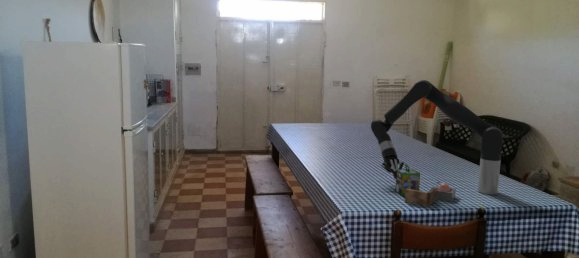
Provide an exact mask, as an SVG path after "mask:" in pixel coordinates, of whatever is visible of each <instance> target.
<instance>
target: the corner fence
mask: <svg viewBox="0 0 579 258" xmlns="http://www.w3.org/2000/svg"><path fill="white" fill-rule="evenodd" d="M435 195H436V188H435V187H432V188H430V190H428V191H422V190H419V191H417V190H411V189H406V191H405V196H404V203H409V204H412V205H413V204H414V205H421V206H425V207H430V206H431V205H432V204H433V203H434V202H435V201H436V199H435Z"/></svg>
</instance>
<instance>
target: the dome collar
mask: <svg viewBox="0 0 579 258" xmlns="http://www.w3.org/2000/svg"><path fill="white" fill-rule="evenodd" d="M438 186H439V185H436V186H435V187H434V188H436V195H435V200H439V201H445V200H446V201H447V202H451V201H452V202H453V201H454V199H455V198H456V192H457V191H456V188H453V187H450V192H446V191H439V190H438ZM454 197H455V198H454Z"/></svg>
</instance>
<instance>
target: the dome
mask: <svg viewBox="0 0 579 258" xmlns="http://www.w3.org/2000/svg"><path fill="white" fill-rule="evenodd" d="M437 186H438V190H439V191H446V192H450V188H451V187H450V186H449V184H447V183H446V182H444V183H443V182H442V183H440V185H437Z"/></svg>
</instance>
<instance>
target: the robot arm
mask: <svg viewBox="0 0 579 258" xmlns="http://www.w3.org/2000/svg"><path fill="white" fill-rule="evenodd" d="M422 99H425V100H427V101H429V102H430V103H431V104H434V106H435V107H437V108H438V109H439V110H440V111H441V112H442V113H443V114H444V115H445V116H446V117H447V118H449V119H450V120H452V121H453V122H454V123H456V124H459V125H460V126H462V127H465V128H466V129H469V130H471V131H472V132H474V133H475V134H477V135H478V136H479V137H480V138H481V144H480V145H481V147H480V160H479V173H478V183H477V192H479V193H481V194H485V195H498V193H499V188H500V187H499V186H500V185H499V184H500V170H501V161H502V148H503V138H504V134H503V132H502V131H503V130H501V129H500V128H498V127H496V126H495V125H493V124H491V123H489V122H487V121H485V120H484V119H482V118H481V117H479V116H478V115H477V114H476V113H474V112H473V110H470V108H468V107H467V106H465V105H464V104H462V103H460V101H458V100H456V99H454V98H453V97H451V96H449V95H447V94H445V93H444V92H442V91H441V90H440V89H438V88H437V87H436V86H435V85H434V84H432V82H431V81H428V80H425V79H423V80H422V79H421V80H418V81H416V82H415V83H414V84H413V86H412V87H411V88H410V89H409V91H408V92H407V93H406V94H405V95H404V96H403V97H402V98H401V99H400V100H398V102H396V103H395V104H394V105H393V106H391V108H390V109H388V110H387V112H385V114H383V115H384V116H383V117H384V121H383V120H381V119H378V118H377V119H376V118H375V119H373V120H372V122H371V124H370V130H371V132H372V133H373V135H374V137H375V138H376V140H377V143H378V145H379V146H378V147H379V150H380V153H381V156H382V158H383V162H382V164H381V165H380V166H381V168H383V169H384V171H386V172H388V174H392V176H393V178H394V180H396V174H397V169H403V166H405V162H404V161H402V162H401V160H400V159H399V157H398V154H397V151H396V148H395V146H394V143H393V142H392V138H391V136H390V135H389V133H388V132H389V130H391V128H392V127H393V125H394V123H396V122H397V120H399V119H400V118H401V117H402V116H403V115H404V114H405V113H406V112H407V111H408V110H409V109H410V108H411V107H412V106H413V105H414V104H415V103H417V102H418V101H420V100H422Z"/></svg>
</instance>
